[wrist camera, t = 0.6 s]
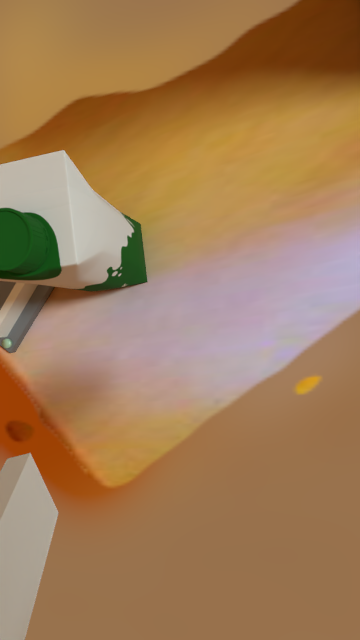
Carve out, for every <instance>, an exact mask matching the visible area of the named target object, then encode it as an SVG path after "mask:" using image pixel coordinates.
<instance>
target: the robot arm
mask: <svg viewBox="0 0 360 640" xmlns="http://www.w3.org/2000/svg"><path fill="white" fill-rule="evenodd" d="M57 516H58V511H57V509H56V507H55V505H54V502H53V500H52V498H51V496H50V494H49V492H48V490H47V487H46V485H45V484H44V481H43V479H42V477H41V475H40V473H39V470H38V468H37V466H36V464H35V462H34V460H33V458H32V455H31V454H30V453H28V454H24V455H20V456H16V457H12V458H8V459H7V460H6V462H5V464H4V466H3V468H2V470H1V471H0V640H25V636H26V633H27V629H28V625H29V621H30V617H31V614H32V610H33V606H34V603H35V599H36V595H37V591H38V588H39V584H40V580H41V576H42V573H43V569H44V565H45V561H46V557H47V553H48V550H49V546H50V543H51V539H52V535H53V531H54V528H55V524H56V520H57Z"/></svg>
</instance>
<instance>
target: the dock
mask: <svg viewBox="0 0 360 640" xmlns="http://www.w3.org/2000/svg"><path fill="white" fill-rule="evenodd" d="M53 289H54V286H46V285H38V284H27V283H17V282H7V281H0V346H2V347H3V348H4V349H5V350H7V351H8V352H9V353H13V352H16V350H17V348H18V347H19V345H20V343H21V342H22V340H23V338H24V337H25V335H26V333H27V332H28V330H29V328H30V327H31V325H32V323H33V322H34V320H35V318H36V317H37V315H38V313H39V312H40V310H41V308H42V307H43V305H44V303H45V302H46V300H47V299H48V297H49V295H50V294H51V292H52V290H53Z"/></svg>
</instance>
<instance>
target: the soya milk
mask: <svg viewBox="0 0 360 640" xmlns="http://www.w3.org/2000/svg"><path fill="white" fill-rule="evenodd" d="M0 281H7V282H17V283H27V284H38V285H46V286H54V287H62V288H69V289H77V290H85V291H101V290H109V289H115V288H121V287H126V286H130V285H135V284H140V283H145V282H147V275H146V267H145V258H144V250H143V241H142V233H141V224H140V223H138V222H136V221H135V220H133V219H131V218H130V217H128V216H126V215H125V214H123V213H121V212H119V211H118V210H117V209H116V208H114V207H113V206H112V205H111V204H109V203H108V202H107V201H106V200H105V199H103V198H102V197H101V196H100V195H98V194H97V193H96V192H95V191H94V190H92V188H91V187H90V186H89V184H88V183H87V181H86V180H85V179H84V177H83V176H82V174H81V173H80V172H79V170H78V169H77V168H76V166H75V165H74V163H73V162H72V161H71V159H70V158H69V156H68V155H67V154H66V152H65V151H64V150H61V151H57V152H52V153H48V154H44V155H39V156H35V157H31V158H26V159H22V160H18V161H13V162H9V163H5V164H0Z"/></svg>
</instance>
